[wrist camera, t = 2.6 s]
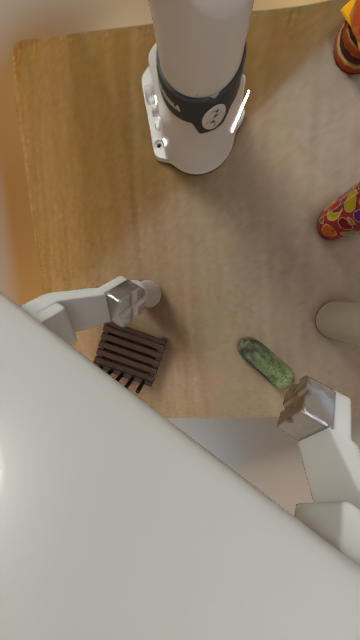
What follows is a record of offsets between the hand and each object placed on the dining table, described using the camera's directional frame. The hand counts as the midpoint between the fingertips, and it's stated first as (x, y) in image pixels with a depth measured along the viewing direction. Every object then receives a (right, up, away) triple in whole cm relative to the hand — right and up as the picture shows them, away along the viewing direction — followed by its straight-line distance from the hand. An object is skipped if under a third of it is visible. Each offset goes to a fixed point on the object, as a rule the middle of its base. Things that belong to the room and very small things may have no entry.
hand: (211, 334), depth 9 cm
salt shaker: (-8, +7, +35) cm, 37 cm away
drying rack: (-13, -6, +37) cm, 40 cm away
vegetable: (+17, -8, +35) cm, 40 cm away
